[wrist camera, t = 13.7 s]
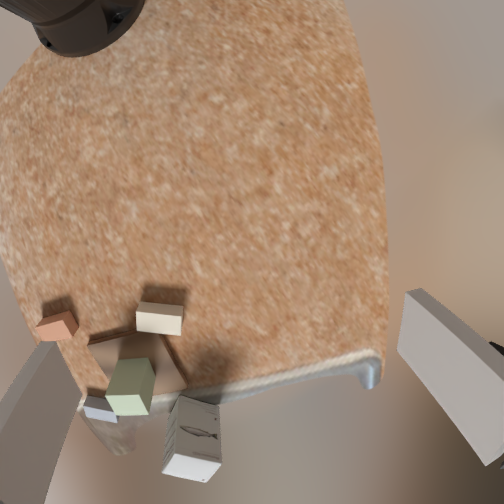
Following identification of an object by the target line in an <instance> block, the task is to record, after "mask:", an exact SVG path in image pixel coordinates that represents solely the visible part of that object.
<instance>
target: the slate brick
mask: <svg viewBox="0 0 504 504" xmlns="http://www.w3.org/2000/svg"><path fill="white" fill-rule="evenodd" d="M83 407H84V410H85V413H86V417H90V418H95V419H99V420H104V421H109V422H115V423H118V419H119V416H120V415H116V414H115V413H114V411H113V409H112V407H111V406H110V404H109V402H108V400H107V399H103V398H98V397H93V396H88V395H87V398H86V400H85V403H84V405H83Z"/></svg>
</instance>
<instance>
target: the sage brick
mask: <svg viewBox="0 0 504 504" xmlns="http://www.w3.org/2000/svg"><path fill="white" fill-rule="evenodd" d="M155 379H156V377H155V374H154V371H153V369H152V366H151V364H150V361H149V359H148V357H147V358H135V359H122V360H118V361H117V363H116V366H115V369H114V371H113V374H112V377H111V380H110V383H109V385H108V388H107V391H106V394H105V397H106V398H107V400H108V402H109V404H110V406H111V407H112V409H113V411H114V413H115V414H116V415H149V411H150V406H151V400H152V395H153V389H154V384H155Z"/></svg>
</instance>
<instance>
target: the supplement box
mask: <svg viewBox="0 0 504 504" xmlns="http://www.w3.org/2000/svg"><path fill="white" fill-rule="evenodd" d="M219 415H220V414H219V406H216V405H212V404H208V403H204V402H201V401H197V400H194V399H191V398H188V397H185V396H182V395H179V397H178V399H177V401H176V403H175V405H174V407H173V410H172V412H171V414H170V416H169V418H168V423H167V430H166V439H165V449H164V458H163V467H162V473H164V474H168V475H172V476H176V477H182V478H185V479H191V480H196V481H201V482H207V481H208V480H209V479H210V477H211V476H212V475H213V474H214V473H215V472H216V470H217V469H218V468H219V467H220V466H221V464H222V455H221V437H220V416H219Z"/></svg>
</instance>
